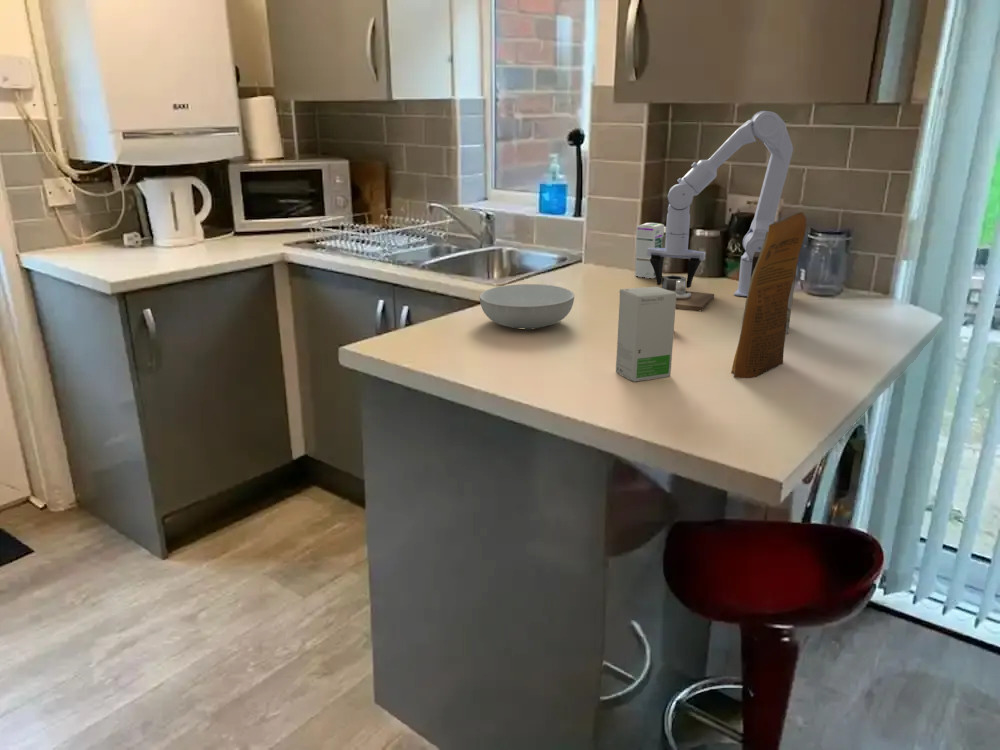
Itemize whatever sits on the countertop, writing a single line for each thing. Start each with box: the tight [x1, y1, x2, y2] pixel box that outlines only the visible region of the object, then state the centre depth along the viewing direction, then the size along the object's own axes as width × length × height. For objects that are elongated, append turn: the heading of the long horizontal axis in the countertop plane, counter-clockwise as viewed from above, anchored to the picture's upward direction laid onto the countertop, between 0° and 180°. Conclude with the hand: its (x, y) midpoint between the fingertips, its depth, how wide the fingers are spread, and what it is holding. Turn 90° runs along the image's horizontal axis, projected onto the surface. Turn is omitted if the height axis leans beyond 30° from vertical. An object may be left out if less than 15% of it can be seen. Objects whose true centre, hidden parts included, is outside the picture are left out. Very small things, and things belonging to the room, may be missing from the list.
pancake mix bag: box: [731, 211, 807, 379], centre depth 140 cm, size 7×19×28 cm, turn 135°
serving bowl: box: [478, 283, 575, 330], centre depth 173 cm, size 21×21×7 cm
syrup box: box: [634, 222, 665, 279], centre depth 217 cm, size 6×6×14 cm
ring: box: [661, 274, 687, 290], centre depth 202 cm, size 6×6×4 cm
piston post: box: [673, 280, 691, 300], centre depth 191 cm, size 5×5×4 cm
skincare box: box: [615, 286, 677, 383], centre depth 140 cm, size 8×7×16 cm
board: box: [666, 289, 715, 312], centre depth 192 cm, size 14×14×1 cm
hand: (673, 285), depth 202 cm, fingers open, 7 cm apart
